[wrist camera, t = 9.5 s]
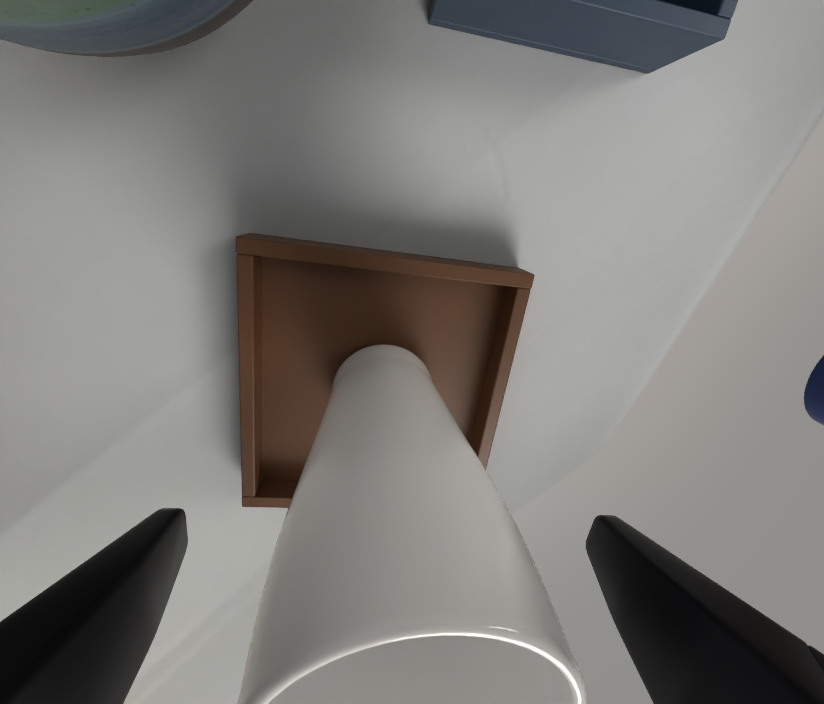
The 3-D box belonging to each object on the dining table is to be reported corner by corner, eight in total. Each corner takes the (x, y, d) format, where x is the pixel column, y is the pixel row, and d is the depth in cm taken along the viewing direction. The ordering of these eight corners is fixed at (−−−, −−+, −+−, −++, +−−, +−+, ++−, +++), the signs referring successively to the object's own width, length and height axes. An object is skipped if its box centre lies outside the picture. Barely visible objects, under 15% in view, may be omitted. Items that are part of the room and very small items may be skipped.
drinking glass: (445, 431, 22) (576, 804, 8) (329, 445, 22) (265, 869, 8) (441, 321, 20) (617, 591, 6) (309, 333, 19) (167, 664, 5)
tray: (467, 489, 25) (475, 512, 23) (251, 482, 23) (241, 507, 21) (519, 267, 20) (535, 274, 18) (249, 232, 18) (235, 236, 16)
